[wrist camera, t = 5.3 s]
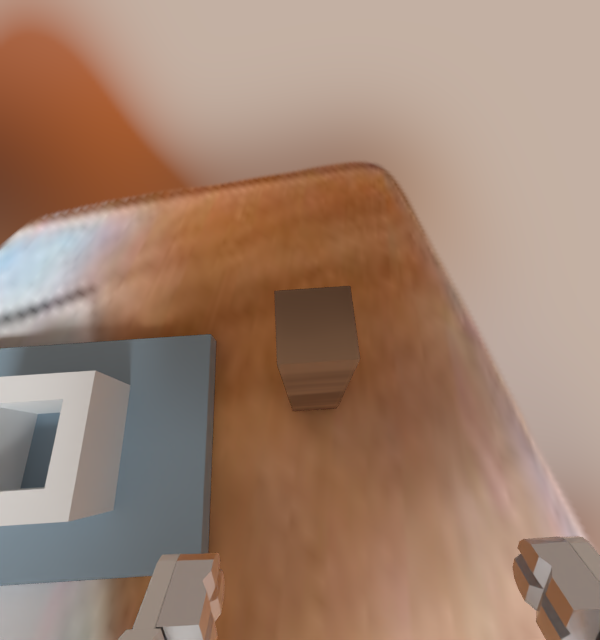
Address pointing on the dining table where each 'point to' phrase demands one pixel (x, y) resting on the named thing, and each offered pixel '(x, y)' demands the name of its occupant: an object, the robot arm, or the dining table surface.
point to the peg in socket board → (104, 457)
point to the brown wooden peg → (316, 345)
